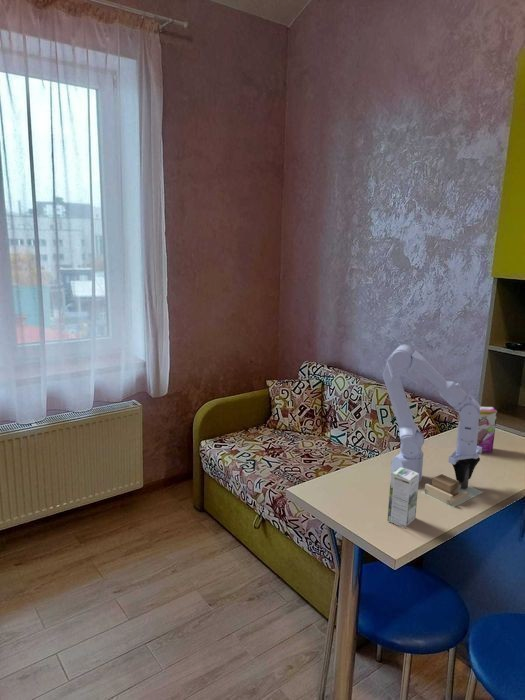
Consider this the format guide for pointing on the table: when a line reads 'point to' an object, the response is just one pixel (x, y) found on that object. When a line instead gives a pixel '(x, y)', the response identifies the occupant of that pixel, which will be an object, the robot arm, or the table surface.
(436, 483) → the brown piece
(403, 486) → the syrup box
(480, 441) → the candy bar box
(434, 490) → the lane board
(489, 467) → the table surface
